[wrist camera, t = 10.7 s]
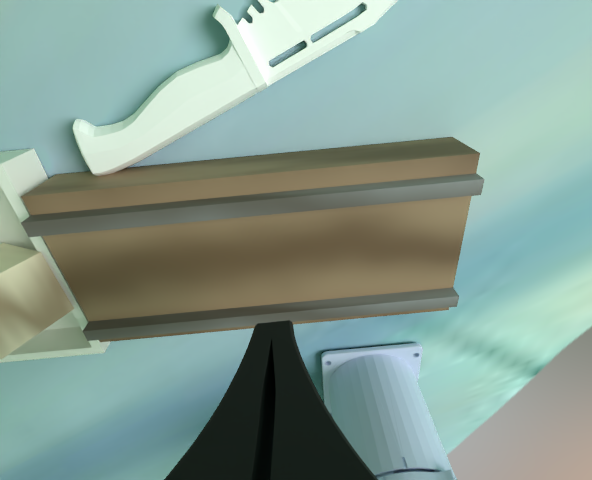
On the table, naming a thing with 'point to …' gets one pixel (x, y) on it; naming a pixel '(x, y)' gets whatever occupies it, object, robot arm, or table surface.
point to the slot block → (260, 237)
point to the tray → (8, 229)
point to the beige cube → (27, 297)
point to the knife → (223, 77)
